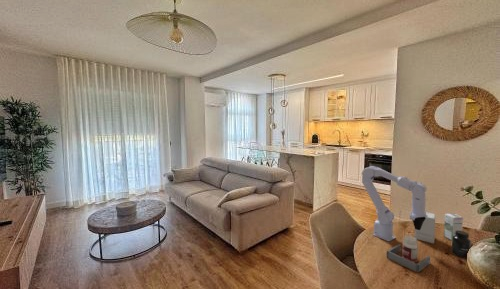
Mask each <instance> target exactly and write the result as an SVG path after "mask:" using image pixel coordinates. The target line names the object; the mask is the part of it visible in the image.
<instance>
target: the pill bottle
mask: <svg viewBox="0 0 500 289" xmlns="http://www.w3.org/2000/svg"><path fill="white" fill-rule="evenodd" d="M418 248H419V246H418V239H416V238H415V236H411V235H405V236H404V237H403V241H402V244H401V251H402V252H401V257H403V258H405V259H407V260H409V261H411V262H414V263H416V264H417V262H418Z"/></svg>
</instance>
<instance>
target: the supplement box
mask: <svg viewBox="0 0 500 289" xmlns="http://www.w3.org/2000/svg"><path fill="white" fill-rule="evenodd" d="M426 215H428V217H425V218H426V219H425V220H424V222H423V224H422V227H421V230H417V229H415V228H414V238H416V239H417V241H418V240H419V241H422V242H425V243H430V244H435V238H436V214H435V213H432V212H431V213H430V212H427V211H426Z"/></svg>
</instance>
